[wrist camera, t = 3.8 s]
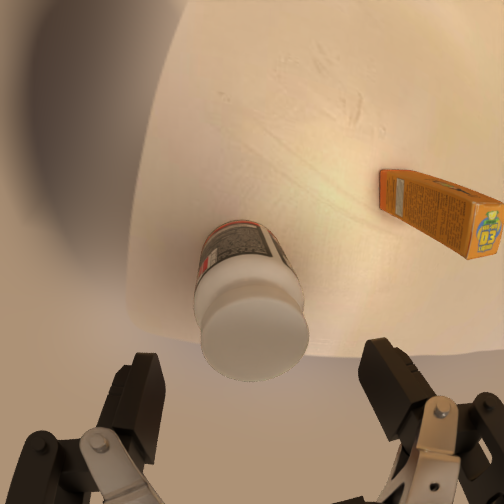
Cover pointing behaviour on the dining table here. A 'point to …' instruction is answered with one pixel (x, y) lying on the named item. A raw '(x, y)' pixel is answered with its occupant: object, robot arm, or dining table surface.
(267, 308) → the pill bottle
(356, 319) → the dining table surface
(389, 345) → the robot arm
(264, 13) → the dining table surface
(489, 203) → the supplement box
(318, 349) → the dining table surface
